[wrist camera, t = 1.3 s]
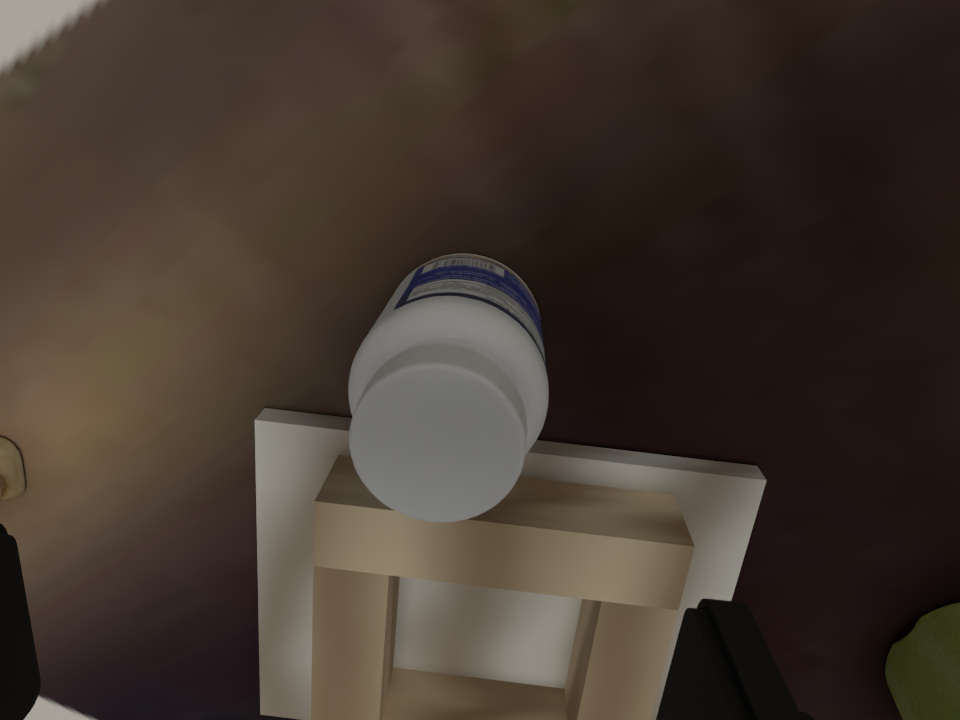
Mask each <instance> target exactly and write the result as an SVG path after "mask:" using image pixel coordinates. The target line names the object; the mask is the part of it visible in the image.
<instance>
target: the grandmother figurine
mask: <svg viewBox="0 0 960 720" xmlns="http://www.w3.org/2000/svg"><path fill="white" fill-rule="evenodd" d="M24 491H25V477H24V471H23V463H22V458H21V455H20V453H19V451H18V449H17V448H16V446H15V445H14V444H13V443H12V442H10V441H9V440H8V439H5V438H3V437H0V500H9V499H13V498H16V497H19V496H20V495H22V494H23V492H24Z"/></svg>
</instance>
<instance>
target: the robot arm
mask: <svg viewBox="0 0 960 720" xmlns="http://www.w3.org/2000/svg"><path fill="white" fill-rule="evenodd" d="M40 685H41V683H40V674H39V668H38V662H37V657H36V651H35V645H34V639H33V634H32V628H31V622H30V616H29V611H28V605H27V599H26V593H25V588H24V582H23V576H22V570H21V565H20V559H19V553H18V547H17V543H16V540H15V538H14V537H13V536H11V535H8V534H7V531H6V528H5V527H4V526H3V525H2V524H0V720H23V719H24V718H25V717H26V716H27V714H28V713H29V712H30V710H31V709H32V707H33V705H34V704H35V701H36V699H37V697H38V694H39V691H40ZM656 720H814V719H813V718H812V717H811V716H810V715H809V714H808V713H806V712H799V711H798V708H797V706H796V704H795V702H794V700H793V698H792V696H791V694H790V692H789V690H788V688H787V686H786V683H785V681H784V679H783V677H782V675H781V673H780V671H779V669H778V667H777V665H776V663H775V661H774V658H773V656H772V654H771V652H770V650H769V648H768V646H767V644H766V642H765V640H764V638H763V636H762V633H761V631H760V629H759V627H758V625H757V623H756V621H755V619H754V617H753V615H752V613H751V611H750V609H749V607H748V606H747V605H746V604H745V603H743V602H734V601H725V600H716V599H706V598H704V599H701V601H700V602H699V603H698V606H697V608H687V609H686V610H685V613H684V615H683V619H682V623H681V627H680V630H679V634H678V638H677V642H676V645H675V649H674V653H673V657H672V661H671V664H670V668H669V672H668V676H667V679H666V683H665V687H664V691H663V695H662V698H661V702H660V706H659V710H658V713H657V717H656Z"/></svg>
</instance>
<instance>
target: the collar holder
mask: <svg viewBox="0 0 960 720" xmlns="http://www.w3.org/2000/svg"><path fill="white" fill-rule="evenodd" d="M351 420H352V418H346V417H337V416H329V415H320V414H312V413H303V412H295V411H286V410H278V409H269V408H264V409H263V411H262V412H261V413H260V414H259V415H258V417H257V418H256V419H255V460H256V511H257V562H258V613H259V664H260V714H261V715H269V716H277V717H285V718H293V719H301V720H656V717H657V713H658V710H659V706H660V702H661V698H662V695H663V691H664V687H665V683H666V679H667V676H668V672H669V668H670V664H671V661H672V657H673V653H674V649H675V645H676V642H677V638H678V634H679V630H680V627H681V623H682V619H683V615H684V613H685V610H686V609H687V608H697V606H698V603H699V602H700V601H701V599H704V598H706V599H716V600H725V601H731V600H732V596H733V593H734V590H735V586H736V583H737V579H738V576H739V573H740V569H741V566H742V562H743V559H744V556H745V552H746V549H747V545H748V542H749V539H750V535H751V532H752V528H753V525H754V522H755V518H756V515H757V511H758V508H759V505H760V501H761V498H762V494H763V491H764V487H765V484H766V481H767V480H766V479H765V477H764V476H763V474H762V473H761V471H760V469H759V468H758V466H753V465H745V464H736V463H728V462H719V461H711V460H702V459H694V458H685V457H677V456H668V455H660V454H651V453H643V452H634V451H626V450H617V449H609V448H600V447H592V446H583V445H575V444H566V443H558V442H550V441H541V440H536V441H535V443H534V444H533V446H532V447H531V449H530V450H529V451H528V452H527V454H526V455H525V460H524V465H523V468H522V471H521V473H520V475H519V477H518V479H517V481H516V483H515V485H514V486H513V488H512V489H511V491H510V492H509V493H508V494H507V495H506V496H505V497H504V498H503V499H502V500H501V501H500V502H499V503H498V504H497V505H495V506H494V507H492V508H491V509H489V510H488V511H486V512H484V513H482V514H480V515H478V516H475V517H472V518H469V519H466V520H461V521H455V522H428V521H423V520H417V519H414V518H411V517H408V516H406V515H403V514H400V513H399V512H397V511H395V510H393V509H391V508H389V507H388V506H386V505H385V504H383V503H382V502H381V501H379V500H378V499H377V498H376V497H375V496H374V495H373V494H372V493H371V492H370V491H369V490H368V488H367V487H366V486H365V485H364V483H363V482H362V480H361V479H360V477H359V475H358V474H357V472H356V469H355V467H354V464H353V461H352V458H351V453H350V448H349V430H350V424H351Z"/></svg>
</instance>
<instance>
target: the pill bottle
mask: <svg viewBox="0 0 960 720" xmlns="http://www.w3.org/2000/svg"><path fill="white" fill-rule="evenodd" d="M348 397H349V405H350V410H351V414H352V420H351V424H350V430H349V448H350V453H351V458H352V461H353V464H354V467H355V469H356V472H357V474H358V475H359V477H360V479H361V480H362V482H363V483H364V485H365V486H366V487H367V488H368V490H369V491H370V492H371V493H372V494H373V495H374V496H375V497H376V498H377V499H378V500H379V501H381V502H382V503H383V504H385V505H386V506H388V507H389V508H391V509H393V510H395V511H397V512H399V513H400V514H403V515H406V516H408V517H411V518H414V519H417V520H423V521H428V522H455V521H461V520H466V519H469V518H472V517H475V516H478V515H480V514H482V513H484V512H486V511H488V510H489V509H491V508H492V507H494V506H495V505H497V504H498V503H499V502H500V501H501V500H502V499H503V498H504V497H505V496H506V495H507V494H508V493H509V492H510V491H511V489H512V488H513V486H514V485H515V483H516V481H517V479H518V477H519V475H520V473H521V471H522V468H523V465H524V460H525V455H526V454H527V452H528V451H529V450H530V449H531V447H532V446H533V444H534V443H535V441H536V440H537V438H538V436H539V434H540V432H541V430H542V427H543V425H544V422H545V418H546V414H547V409H548V397H549V385H548V375H547V367H546V360H545V352H544V344H543V334H542V326H541V319H540V314H539V309H538V306H537V303H536V301H535V299H534V297H533V295H532V293H531V291H530V290H529V288H528V287H527V285H526V284H525V283H524V282H523V281H522V279H521V278H520V277H519V276H518V275H517V274H516V273H514V272H513V271H512V270H511V269H509V268H508V267H507V266H505V265H503V264H502V263H500V262H498V261H496V260H493V259H491V258H488V257H484V256H480V255H476V254H465V253H459V254H449V255H444V256H441V257H437V258H435V259H432V260H430V261H428V262H426V263H424V264H422V265H421V266H419V267H418V268H416V269H415V270H414V271H412V272H411V273H410V274H409V275H408V276H407V277H406V278H405V279H404V280H403V281H402V282H401V284H400V285H399V286H398V288H397V289H396V291H395V293H394V294H393V296H392V297H391V299H390V300H389V302H388V304H387V305H386V307H385V308H384V310H383V311H382V313H381V315H380V316H379V318H378V319H377V321H376V322H375V324H374V325H373V327H372V328H371V330H370V331H369V333H368V335H367V336H366V337H365V339H364V340H363V341H362V343H361V346H360V347H359V349H358V351H357V353H356V356H355V358H354V360H353V363H352V367H351V371H350V376H349V384H348Z"/></svg>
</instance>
